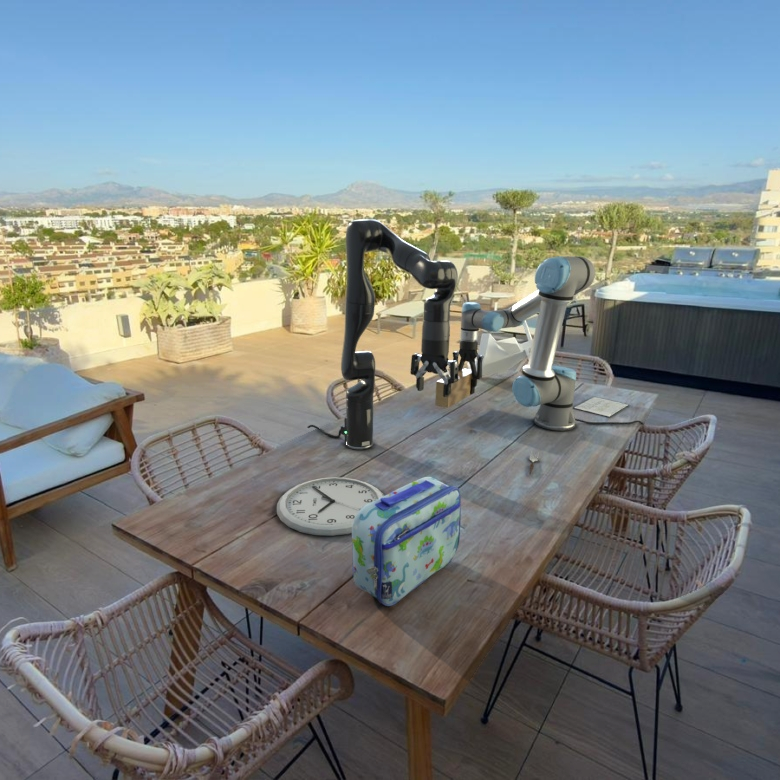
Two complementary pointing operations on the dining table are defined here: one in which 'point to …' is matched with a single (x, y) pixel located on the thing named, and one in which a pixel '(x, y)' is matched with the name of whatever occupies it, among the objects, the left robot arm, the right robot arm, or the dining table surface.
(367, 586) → the lunch box
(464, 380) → the box
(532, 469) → the fork
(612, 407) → the invitation card
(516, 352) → the white plastic object
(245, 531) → the dining table surface
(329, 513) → the wall clock
